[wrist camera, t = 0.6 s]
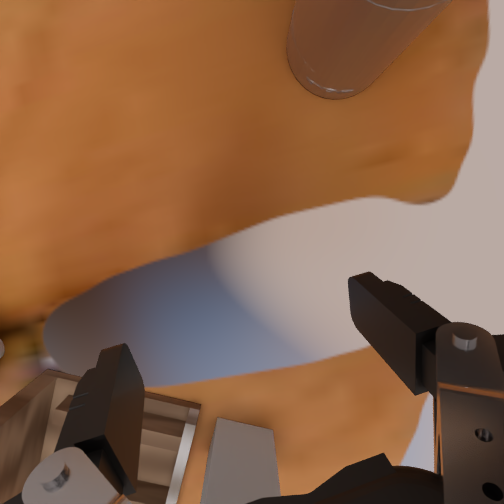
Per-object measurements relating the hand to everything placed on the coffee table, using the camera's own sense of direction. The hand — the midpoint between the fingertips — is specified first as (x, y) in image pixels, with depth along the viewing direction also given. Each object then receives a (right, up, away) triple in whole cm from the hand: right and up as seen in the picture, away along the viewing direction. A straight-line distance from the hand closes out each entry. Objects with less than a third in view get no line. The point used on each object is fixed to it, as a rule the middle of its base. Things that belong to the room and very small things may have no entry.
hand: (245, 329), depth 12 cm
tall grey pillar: (-1, -17, +24) cm, 29 cm away
